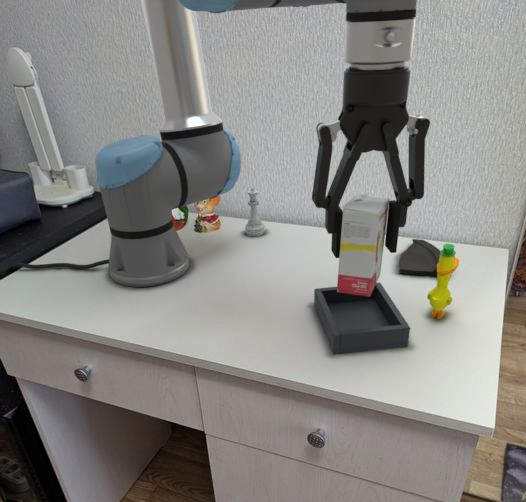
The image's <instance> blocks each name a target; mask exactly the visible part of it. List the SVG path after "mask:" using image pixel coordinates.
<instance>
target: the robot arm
mask: <svg viewBox="0 0 526 502" xmlns="http://www.w3.org/2000/svg"><path fill="white" fill-rule="evenodd" d="M140 2H141V7H142V8H141V9H142V13H143V16H144V22H145V26H146V32H147V36H148V41H149V45H150V49H151V50H150V51H151V55H152V56H151V57H152V60H153V65H154V70H155V76H156V78H157V84H158V89H159V94H160V99H161V104H162V108H163V114H164V121H163V123H162V125H161V126H160V128H159V135H160V138H159V137H157V136H155V135H149V134H148V135H145V134H143V135H138V136H135V137H134V136H129V137H126V138H122V139H119V140H116V141H113V142H111V143H109V144H107V145H105V146H104V147H102V148H100V150H99V151H98V152H97V154H96V156H95V159H94V165H95V170H96V181H97V185H98V187H99V190H100V194H101V198H102V202H103V207H104V210H105V215H106V220H107V224H108V227H109V231H110V236H111V237H110V250H109V256H108V257H109V258H108V259H104V260H100V261H95V262H92V263H87V264H77V263H70V262H69V263H68V262H54V263H43V264H42V263H41V264H32V263H31V264H30V263H24V262H13V263H14V266H8V265H7V266H6V267H5V269H4V272H9V271H11V270H12V269H13V268H16V267H17V268H25V269H29V270H30V269H31V270H41V269H52V268H53V269H54V268H71V269H77V270H88V269H93V268H96V267H100V266H104V265H108V269H109V274H110V278H111V279H112V280H113V281H114V282H116V283H117V284H119V285H122V286H127V287H133V288H135V287H136V288H144V287H146V288H147V287H153V286H159V285H163V284H166V283H170V282H172V281H174V280H177V279H178V278H180V277H182V276H183V275H184V274H186V273H187V272H188V270H189V269H190V268H189V267H190V258H189V253H188V252H187V250H186V248H185V245H184V243H183V241H182V240H181V238H180V236H179V234H178V231H177V230H176V228H175V223H174V218H173V217H174V216H173V210H176V209H179V208H182V207H186V206H189V205H192V204H196V203H200V202H202V201H207V200H213V199H215V198H218V197H220V196H221V195H224V194H226V193H229V192H230V191H232V189H234V187H235V186H236V183H237V182H238V181H239V178H240V174H241V169H242V156H241V151H240V146H239V144H238V142H237V141H235V140H236V138H235V136H234V134H232V133H231V131H229V130H228V129H224V125H223V120H222V119H221V118H220V117H219V116H218V115H217V114H215V113H214V111H213V108H212V101H211V95H210V90H209V83H208V78H207V72H206V65H205V59H204V58H205V57H204V53H203V48H202V47H203V46H202V40H201V34H200V28H199V21H198V16H197V12H208V13H210V14H221V13H225V12H234V11H245V10H246V11H247V10H257V9H258V10H259V9H260V10H261V9H269V8H271V9H273V8H289V7H291V8H300V7H301V8H308V7H311V6H323V5H324V6H325V5H333V4H334V5H335V4H345V5H346V6H345V8H346V9H345V12H346V14H345V36H344V57H343V61H344V62H345V63H346V64H348V67H347V68H345V70H344V71H343V81H342V84H343V85H342V107H341V111H340V114H339V116H338V118H337V120H333V121H330V122H327V123H324V122H319V123H317V125H316V127H315V128H316V134H317V140H318V149H317V155H316V162H315V163H316V164H315V170H314V178H313V186H312V194H311V200H312V202H313V204H314V206H315V207H317V208H318V209H324V210H325V214H324V215H325V216H324V228H325V230H326V232H327V234H329V235H331V249H330V250H331V252H332V254H333V256H334V258H335V259H339V256H340V243H341V230H342V218H343V209H342V208H341V207H340V203H341V202H342V199H343V196H344V194H345V192H346V189H347V187H348V184H349V181H350V180H351V176H352V174H353V171H354V169H355V167H356V165H357V162H358V161H359V160H360V158H361V156H362V154H364V153H370V152H372V151H376V152H382V154H383V157H384V162H385V166H386V169H387V172H388V177H389V179H390V184H391V187H392V190H393V193H394V197H395V200H394V199H392V200H391V199H390V201H389V207H388V215H387V223H386V231H385V239H384V246H385V248H386V249H387V250H388V251H389V253H390V254H394V253H397V249H398V242H399V241H398V240H399V232H400V228H404V227H405V226H406V224H407V218H408V217H407V216H408V208H409V207H411V206H412V204H413V201H416V200H421V199H423V197H424V196H425V165H426V163H425V161H426V159H425V158H426V156H425V155H426V137H427V135H428V131H429V130H430V129H429V128H430V125H431V121H430V119H428V118H427V117H424V116H422V115H420V114H417V115H411V114H409V112H408V108H407V103H408V98H409V97H408V96H409V87H410V77H411V69H410V68H409V67H410V66H408V65H406V63H407V62H409V61H411V59H412V58H413V48H414V40H415V29H416V21H417V18H416V17H417V2H418V0H140ZM404 128H406V132H407V134H408V185H407V181H406V178H405V173H404V170H403V167H402V163H401V159H400V150H399V146H398V143H397V138H398V137H399V136H400V134H401V133H402V131H403V130H404ZM340 131H341V133H342V134H343V136H344V137H345V139H346V143H345V145H344V147H343V151H342V156H341V159H340V162H339V164H338V166H337V168H336V171H335V173H334V176H333V178H332V181H331V184H330V187H329V189H328V183H329V182H328V181H329V175H330V169H331V162H332V155H333V143H334V142H336V140H337V137H338V133H339V132H340ZM327 189H328V191H327Z"/></svg>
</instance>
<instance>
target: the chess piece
mask: <svg viewBox="0 0 526 502" xmlns="http://www.w3.org/2000/svg"><path fill="white" fill-rule="evenodd" d="M246 194H247V195H248V196H249V201H248V202H247V205H248V206H249V207H250V214H249V218H248V219H247V223H246V224H245V226H244V228H245V230H244V233H245V235H246V236H249V237H260V236H262V235H264V234H265V233H266V229H265V227H266V226H265V224H264V223H263V222H261V221H262V219H261V218H259V213H258V208H257V206H259V204H260V201H259V200H258V198H257V196H258V194H259V190H257V189H255V187H251V188H250V190H248V191H247V192H246Z"/></svg>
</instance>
